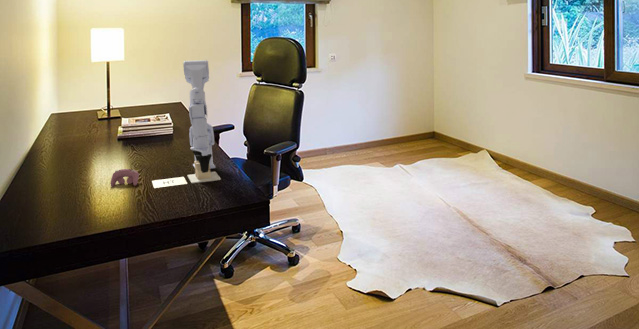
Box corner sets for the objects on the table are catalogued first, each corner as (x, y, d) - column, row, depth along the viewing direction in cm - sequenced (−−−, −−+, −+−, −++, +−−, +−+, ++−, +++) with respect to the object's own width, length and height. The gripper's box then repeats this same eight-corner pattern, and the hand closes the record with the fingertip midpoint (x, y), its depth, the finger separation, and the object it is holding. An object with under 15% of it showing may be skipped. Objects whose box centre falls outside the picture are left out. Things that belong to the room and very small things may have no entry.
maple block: (195, 176, 196) (194, 161, 195) (208, 174, 198) (207, 159, 197) (197, 179, 192) (196, 164, 190) (210, 177, 194) (209, 162, 192)
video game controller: (139, 187, 191) (140, 169, 192) (136, 185, 187) (136, 167, 188) (113, 188, 191) (114, 170, 192) (109, 186, 186) (109, 168, 188)
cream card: (151, 181, 193) (151, 180, 193) (183, 177, 197) (183, 176, 197) (154, 188, 184) (154, 187, 184) (187, 184, 188) (187, 183, 188)
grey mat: (187, 176, 198) (187, 174, 198) (215, 172, 202) (215, 171, 202) (191, 183, 188) (191, 182, 188) (220, 180, 192) (220, 178, 192)
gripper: (186, 132, 196) (189, 166, 199) (192, 140, 183) (195, 175, 187) (204, 131, 198) (207, 164, 202) (211, 138, 185) (214, 173, 189)
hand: (203, 169), depth 194 cm, fingers open, 7 cm apart
